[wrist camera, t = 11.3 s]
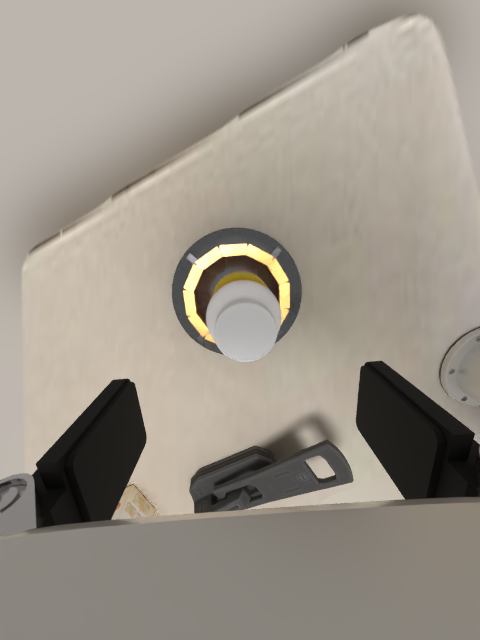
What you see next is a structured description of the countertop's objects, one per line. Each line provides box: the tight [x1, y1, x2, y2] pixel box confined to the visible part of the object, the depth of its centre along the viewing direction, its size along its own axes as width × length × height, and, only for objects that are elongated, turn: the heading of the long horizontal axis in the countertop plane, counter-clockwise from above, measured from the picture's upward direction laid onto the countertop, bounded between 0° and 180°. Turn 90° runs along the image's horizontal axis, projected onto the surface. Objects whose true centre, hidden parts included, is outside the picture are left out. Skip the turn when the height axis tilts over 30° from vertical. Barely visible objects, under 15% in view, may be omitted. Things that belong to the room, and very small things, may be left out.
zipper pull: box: [189, 440, 353, 514], centre depth 36 cm, size 9×7×25 cm
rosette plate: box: [172, 228, 302, 354], centre depth 30 cm, size 16×16×3 cm
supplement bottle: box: [206, 270, 282, 362], centre depth 24 cm, size 7×7×13 cm
